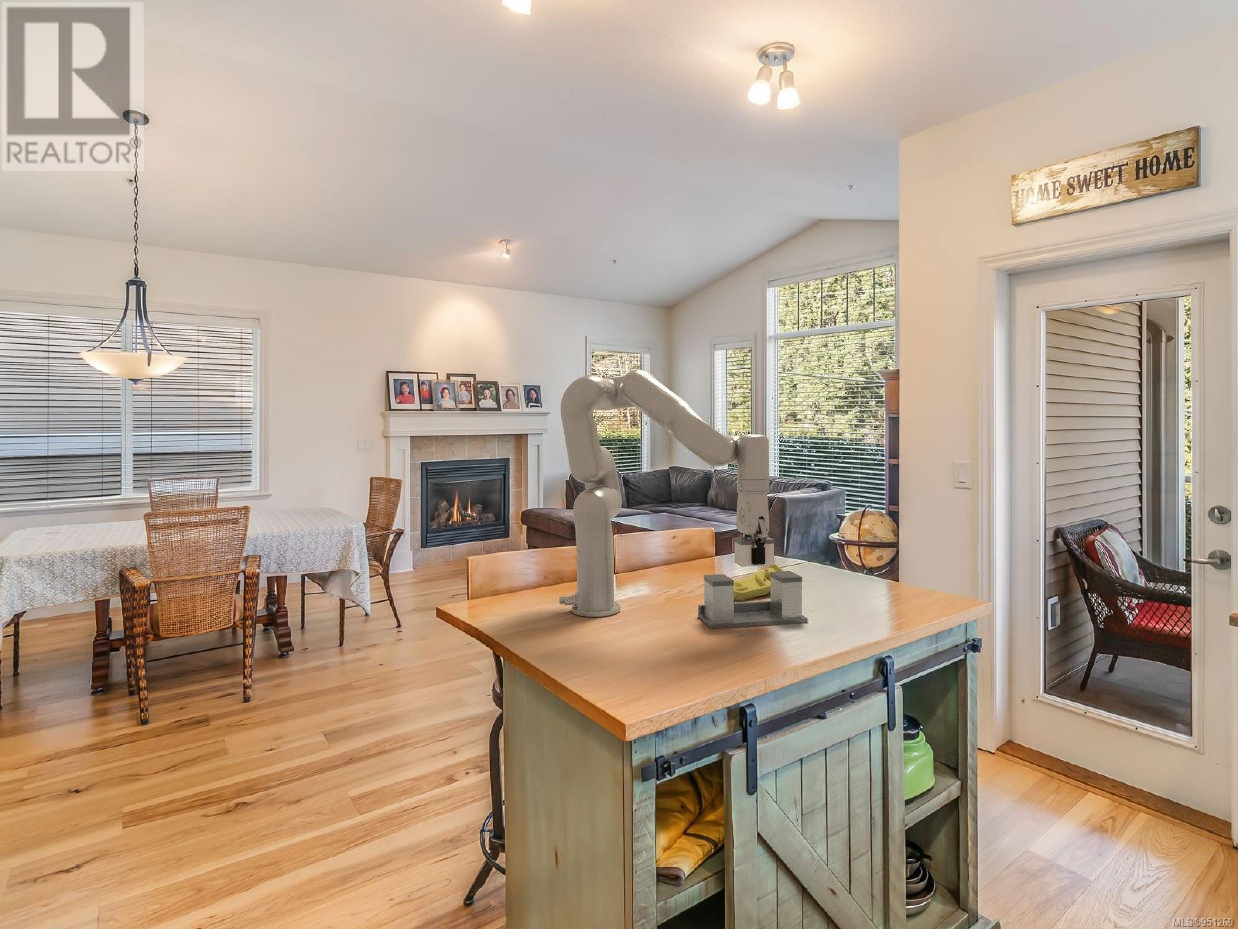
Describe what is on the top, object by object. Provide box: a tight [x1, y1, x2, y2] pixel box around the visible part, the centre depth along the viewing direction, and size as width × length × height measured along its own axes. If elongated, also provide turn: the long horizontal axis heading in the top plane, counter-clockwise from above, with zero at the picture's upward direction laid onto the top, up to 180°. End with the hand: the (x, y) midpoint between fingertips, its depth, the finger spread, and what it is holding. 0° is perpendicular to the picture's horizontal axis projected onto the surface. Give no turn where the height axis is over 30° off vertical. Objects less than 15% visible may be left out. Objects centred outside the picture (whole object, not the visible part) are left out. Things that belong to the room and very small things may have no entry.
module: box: [733, 536, 775, 568], centre depth 158 cm, size 8×5×6 cm, turn 99°
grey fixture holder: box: [697, 570, 809, 630], centre depth 160 cm, size 24×10×11 cm, turn 99°
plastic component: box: [733, 562, 785, 601], centre depth 186 cm, size 20×7×10 cm
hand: (753, 561), depth 158 cm, fingers closed on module, 5 cm apart
